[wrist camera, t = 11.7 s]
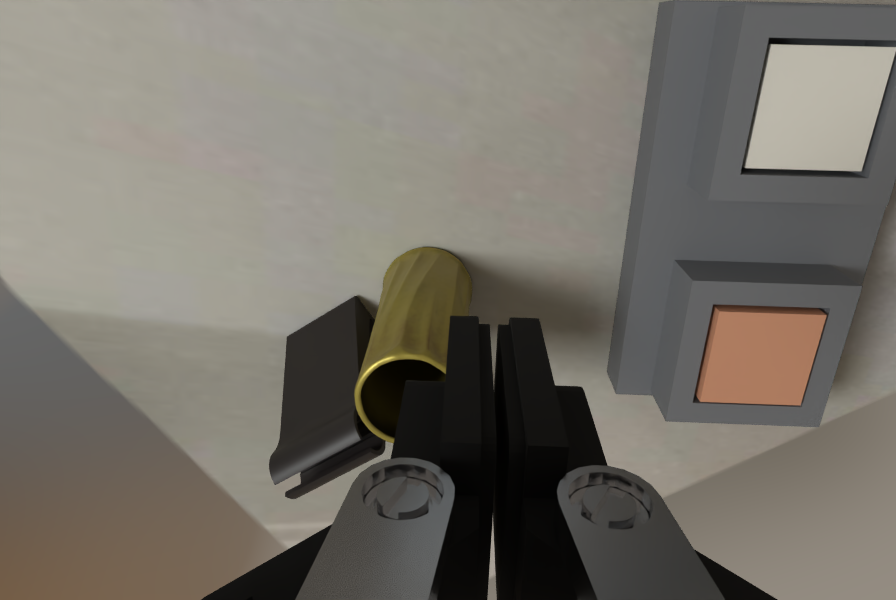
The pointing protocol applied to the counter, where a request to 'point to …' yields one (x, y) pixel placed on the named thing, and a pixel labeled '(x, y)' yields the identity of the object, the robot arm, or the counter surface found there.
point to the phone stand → (324, 401)
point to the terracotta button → (758, 354)
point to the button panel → (740, 205)
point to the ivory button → (817, 106)
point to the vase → (410, 333)
